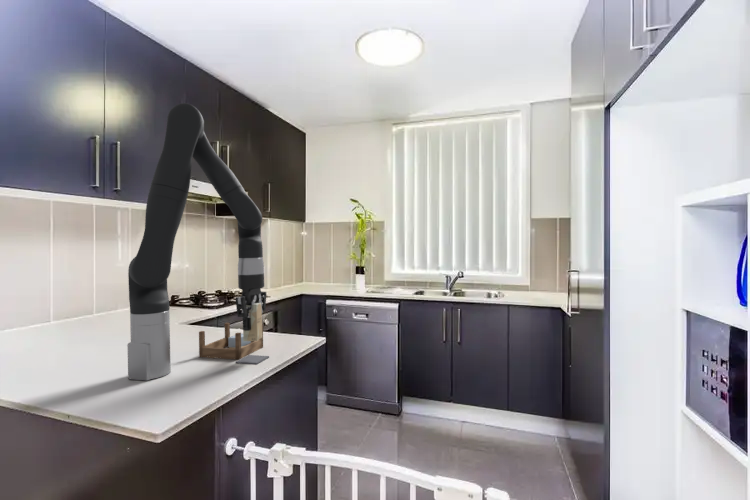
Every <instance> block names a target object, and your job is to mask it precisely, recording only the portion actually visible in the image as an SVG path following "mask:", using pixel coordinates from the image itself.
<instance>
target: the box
mask: <svg viewBox="0 0 750 500" xmlns="http://www.w3.org/2000/svg"><path fill="white" fill-rule="evenodd" d="M246 307H250V305H246ZM247 313H248V310H247ZM262 316H263V313H262V308H261V303H255V304H254V305H253V310H252V311H251V317H250V318H251V330H249V331H244V330H243V329H242V330H243V332H242V334H243V341H258V340H259V339H261V338H262V324H263V317H262Z"/></svg>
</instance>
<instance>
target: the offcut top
mask: <svg viewBox="0 0 750 500" xmlns="http://www.w3.org/2000/svg"><path fill="white" fill-rule="evenodd" d="M240 333H241V347H242V346H245V345H247V344H250V343H251V341H243V332H240ZM229 347H235V334H234V335H232V336H231V335H230V337H229V338H228V346H227V348H229Z"/></svg>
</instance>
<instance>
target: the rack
mask: <svg viewBox="0 0 750 500" xmlns="http://www.w3.org/2000/svg"><path fill="white" fill-rule="evenodd" d="M230 323H231V322H224V337H223V338H220V339H218V340H216V341H213V342H210V343H208V344H206V334H205V333H206V332H205V331H204V330H200V331H198V353H199V354H198V356H199V357H198V358H207V359H208V358H209V359H221V360H222V359H224V360H225V359H226V360H237V361H238V360H240V359H242V358H244V357H246V356H248V355H252V354H254V352H256V351H258V350H260V349H263V348H264V323H262V338H261V339H259V340H258V341H251V343H250V344H248V345H246V346H243V347H241V333H242V332H235V334H234V335H235V349H229V347H228V338H229V337H231V326H230V325H231V324H230Z"/></svg>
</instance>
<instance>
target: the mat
mask: <svg viewBox="0 0 750 500" xmlns="http://www.w3.org/2000/svg"><path fill="white" fill-rule="evenodd" d="M269 358H270V356H269V355H258V354H256V355H255V354H249V355H247V356H245V357H243V358H241V359H239V360H238V359H237V361H236V360H235V364H247V365H258V364H261V363H263V361H265V360H267V359H269Z"/></svg>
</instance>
